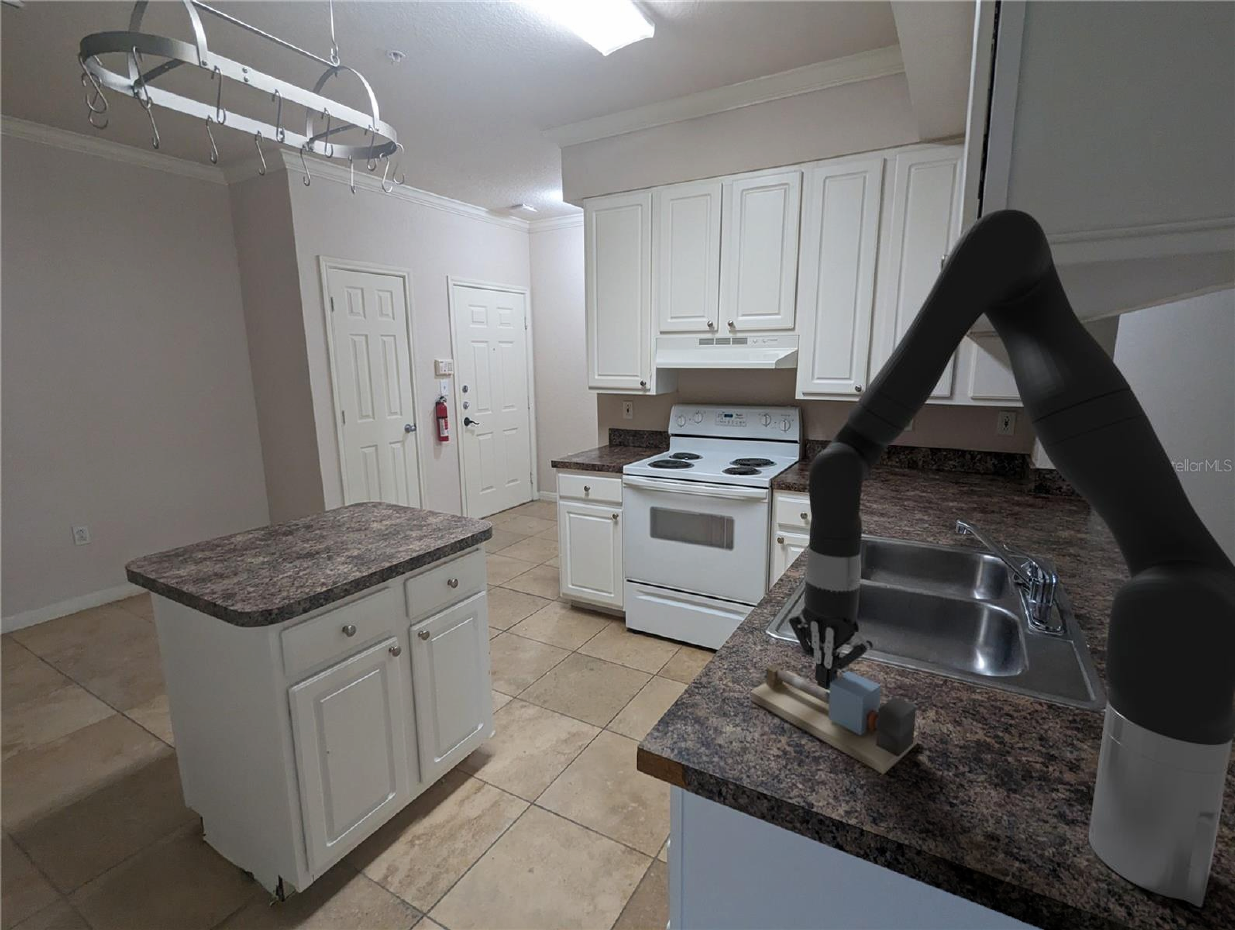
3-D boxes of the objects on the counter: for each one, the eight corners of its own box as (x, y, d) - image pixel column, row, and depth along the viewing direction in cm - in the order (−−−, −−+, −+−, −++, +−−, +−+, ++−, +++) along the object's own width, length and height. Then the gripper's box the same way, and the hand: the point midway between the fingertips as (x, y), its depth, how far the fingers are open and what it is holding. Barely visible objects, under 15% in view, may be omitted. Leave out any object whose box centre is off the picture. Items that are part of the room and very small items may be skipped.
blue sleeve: (878, 721, 81) (880, 685, 80) (860, 735, 78) (862, 698, 77) (846, 705, 85) (848, 671, 84) (828, 718, 82) (830, 682, 81)
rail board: (921, 744, 78) (925, 698, 77) (887, 776, 72) (890, 727, 71) (786, 678, 96) (788, 640, 95) (750, 699, 90) (751, 659, 89)
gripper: (889, 586, 78) (880, 697, 81) (807, 561, 88) (801, 660, 92) (862, 600, 74) (853, 716, 77) (779, 572, 84) (774, 676, 87)
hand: (825, 686), depth 84 cm, fingers closed
